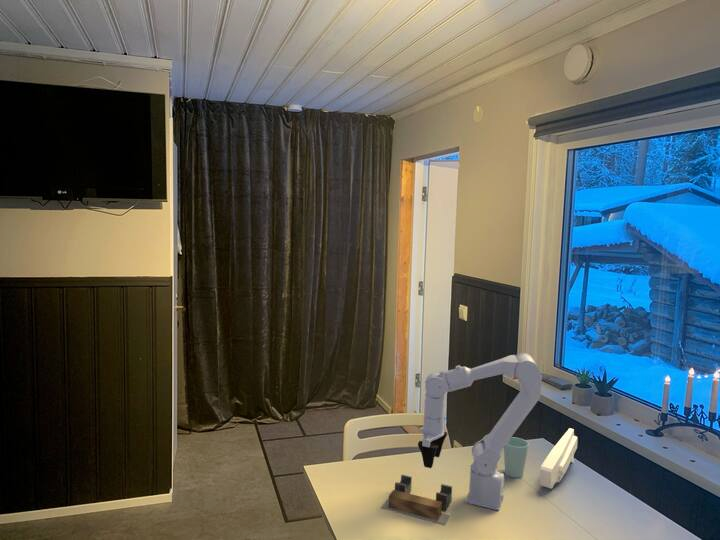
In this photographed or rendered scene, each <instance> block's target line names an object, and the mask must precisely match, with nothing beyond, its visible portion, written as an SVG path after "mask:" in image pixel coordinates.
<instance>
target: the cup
mask: <svg viewBox="0 0 720 540" xmlns="http://www.w3.org/2000/svg"><path fill="white" fill-rule="evenodd" d="M529 445H530V444H529V442H528V441H527V440H525V439H523V438H520V437H514V436H512V437H511V438H510V439H509V441H508V442H507V443H506V445H505V446H504V448H503V458H504V459H503V460H504V461H503V462H504V473H505V475H507V476H508V477H510V478H521V477H523V476H524V471H525V468H526V467H525V466H526V461H527V456H528V449H529Z"/></svg>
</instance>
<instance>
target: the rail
mask: <svg viewBox="0 0 720 540" xmlns="http://www.w3.org/2000/svg"><path fill="white" fill-rule="evenodd" d="M388 499H389V505H388V508H392V509H395V510H399V511H403V512H407V513H411V514H414V515H418V516H422V517H426V518H429V519H433V520H437V521H438V520H439V518H440V516H441V514H442V513H443V511H442V502H441V501H437V500H436V499H432V498H427V497H424V496H421V495H416V494H413V493H410V494H409V493H405V492H401V491H397V490H395V489H392V491H391V492H390V493H389V495H388Z"/></svg>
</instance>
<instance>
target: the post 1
mask: <svg viewBox="0 0 720 540" xmlns="http://www.w3.org/2000/svg"><path fill="white" fill-rule="evenodd" d="M412 479H413V477H412V476H410V475H407V474H401V475H400V481H399V482H398V481H397V482H396V481H395V483H394V490H397V491H401V492H405V493H409V494H411V493H412Z"/></svg>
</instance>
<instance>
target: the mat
mask: <svg viewBox="0 0 720 540" xmlns="http://www.w3.org/2000/svg"><path fill="white" fill-rule="evenodd" d="M388 505H389V498H387V499H386V500H385V501H384V502H383V504H381V507H380V509H382V510H385V511H386V510H387V511H389V512H394V513H397V514H401V515H405V516H409V517H413V518H417V519H420V520H424V521H427V522H432V523H436V524H439V525H442V526H446V525H447V522H448V521H449V518H450V516H451V514H448V513H445V512H442V514H441V516H440V518H439V520H438V521H437V520H433V519H429V518H426V517H422V516H418V515H414V514H411V513H407V512H403V511H399V510H395V509H392V508H388Z"/></svg>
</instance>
